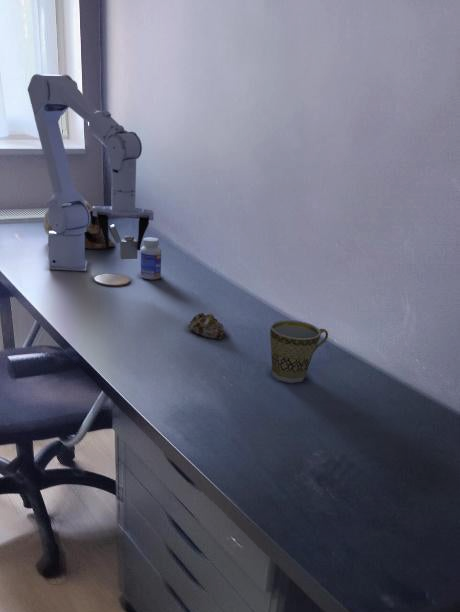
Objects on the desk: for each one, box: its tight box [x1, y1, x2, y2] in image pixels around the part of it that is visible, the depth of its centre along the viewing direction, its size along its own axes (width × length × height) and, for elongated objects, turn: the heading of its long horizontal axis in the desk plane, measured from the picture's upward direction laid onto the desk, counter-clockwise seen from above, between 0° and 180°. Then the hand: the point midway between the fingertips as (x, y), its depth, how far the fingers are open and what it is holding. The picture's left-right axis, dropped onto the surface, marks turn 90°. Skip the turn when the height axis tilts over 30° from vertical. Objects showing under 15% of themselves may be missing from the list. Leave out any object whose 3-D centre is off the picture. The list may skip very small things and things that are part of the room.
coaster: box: [94, 273, 131, 287], centre depth 184 cm, size 9×9×1 cm
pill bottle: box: [140, 236, 162, 281], centre depth 187 cm, size 5×5×10 cm
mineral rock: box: [188, 312, 226, 341], centre depth 160 cm, size 11×4×8 cm
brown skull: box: [43, 199, 115, 250], centre depth 206 cm, size 16×17×13 cm
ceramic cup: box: [269, 319, 329, 384], centre depth 143 cm, size 13×10×10 cm
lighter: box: [108, 223, 139, 260], centre depth 176 cm, size 7×2×8 cm, turn 114°
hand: (122, 248), depth 177 cm, fingers closed on lighter, 7 cm apart
